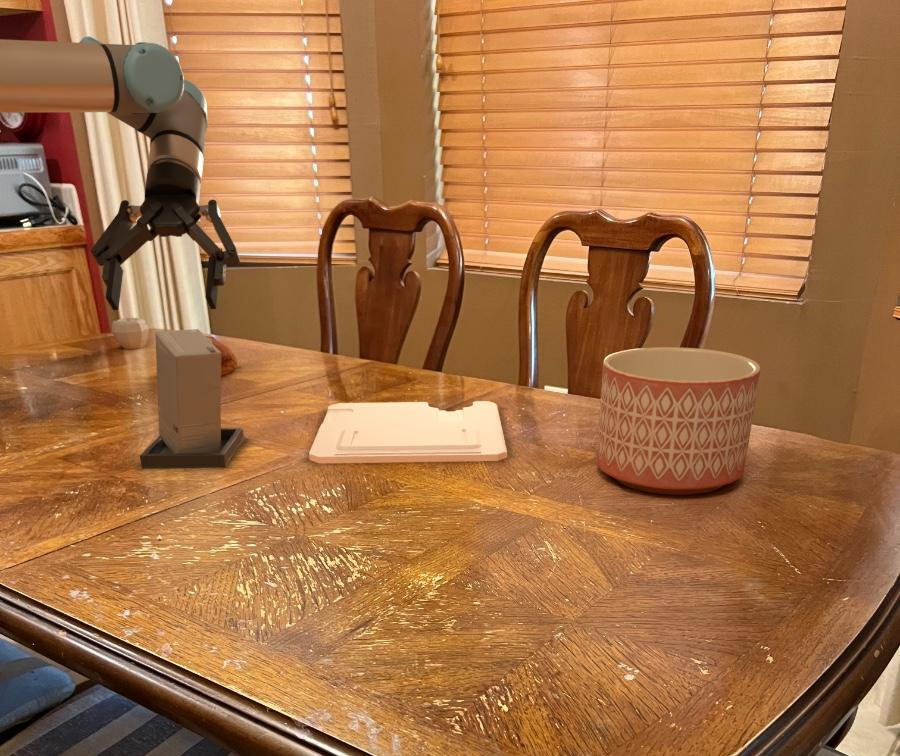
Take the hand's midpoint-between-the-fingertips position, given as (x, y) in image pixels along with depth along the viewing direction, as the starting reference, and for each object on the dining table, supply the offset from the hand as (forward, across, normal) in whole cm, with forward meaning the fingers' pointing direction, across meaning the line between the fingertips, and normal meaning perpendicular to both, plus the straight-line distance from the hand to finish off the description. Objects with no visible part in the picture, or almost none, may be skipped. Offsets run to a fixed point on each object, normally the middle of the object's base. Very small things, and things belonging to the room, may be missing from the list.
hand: (161, 303), depth 118 cm
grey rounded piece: (-36, +30, -66) cm, 81 cm away
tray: (+11, -34, -18) cm, 40 cm away
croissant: (-19, +9, -48) cm, 52 cm away
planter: (+25, -69, -4) cm, 73 cm away
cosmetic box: (+16, -3, -11) cm, 20 cm away
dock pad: (+17, -3, -12) cm, 21 cm away
